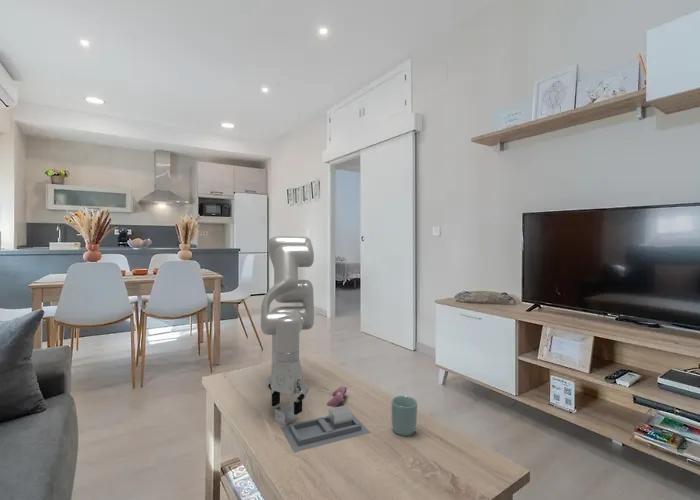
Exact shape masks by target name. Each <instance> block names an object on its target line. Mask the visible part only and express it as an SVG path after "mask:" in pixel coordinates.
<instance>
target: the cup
mask: <svg viewBox="0 0 700 500" xmlns="http://www.w3.org/2000/svg"><path fill="white" fill-rule="evenodd" d="M390 411H391V413H390V415H391V418H390V419H391V428H392V430H393V433H395V434H397V435H399V436H402V437H409V436H412V435H413V434H414V433H415V431H416V428H417V421H418V402H417V400H416V399H415V398H413V397H411V396H406V395H398V396H397V395H396V396H395V397H393V398H392V400H391V410H390Z"/></svg>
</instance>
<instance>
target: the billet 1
mask: <svg viewBox="0 0 700 500" xmlns="http://www.w3.org/2000/svg"><path fill="white" fill-rule="evenodd" d="M297 418H299V414H297V415H294V403H292V402H290V401H287V402H286V403H283V404H281V405H279V406H277V407H276V408H274V422H276V423H278V424H281V425H283V426H287V425H289V423H290V424H291V423H292V421H295V420H296V419H297Z"/></svg>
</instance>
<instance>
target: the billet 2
mask: <svg viewBox="0 0 700 500" xmlns="http://www.w3.org/2000/svg"><path fill="white" fill-rule="evenodd" d="M352 414H353V411H352V410H351V409H350V408H349V407H348V406H347V405H342V406H341V405H340V406H335V407H333V408H328V416H329V417H328V425H329V426H330V427H331V428H332V430H337V429H341V428H345V427H349V426H352Z"/></svg>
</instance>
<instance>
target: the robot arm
mask: <svg viewBox="0 0 700 500" xmlns="http://www.w3.org/2000/svg"><path fill="white" fill-rule="evenodd" d="M267 250H268V255H269V259H270V261H271V264H272V267H273V274H274V275H273V285H272V287H271V288H270V289H269V290H267V292H266V293H265V295H264V297H263V299H262V302H261V305H260V307H261V309H260V330H261V332H262V333H263V334H264V335H267V336H271V373H270V376H268V377H266V381H267V387H268V388H269V390H270V391H269V392H270V394H271V407H276V406H278V405H280V403H281V394H283V395H286V396H290V397H291V396H293V398H294V400H295V401H294V402H293V404H294V415H297V414H298V415H299V414H300V413H302V412H303V400H304V399H305V398H306V397H307V396H308V395H307V394H308V392H309V390H310V389H309V387H307V385H306V384H305V383H304V382H303V372H302V371H303V370H302V364H301V363H302V362H301V360H300V333H301V331H306V330H310V329H312V328H313V326H314V324H315V306H314V302H315V301H314V300H315V299H314V297H315V296H314V287H313V284H312V282H311V281H310V280H308V279H299V268H310V267H312V266H313V263H314V261H315V260H314V258H315V254H314V253H315V252H314V248H313V244H312V241H311V239H310V238H309V237H307V236H289V235H288V236H287V235H286V236H285V235H283V236H282V235H281V236H280V235H279V236H273V237H270V238H269V239H268V241H267ZM274 300H275V302H277V303H279V304H302V305H296V306H295V305H290V306H289V305H286V306H285V305H284V306H278V307H275V308H273V309H272V310H271V311H270V306H271V303H273V301H274Z"/></svg>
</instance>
